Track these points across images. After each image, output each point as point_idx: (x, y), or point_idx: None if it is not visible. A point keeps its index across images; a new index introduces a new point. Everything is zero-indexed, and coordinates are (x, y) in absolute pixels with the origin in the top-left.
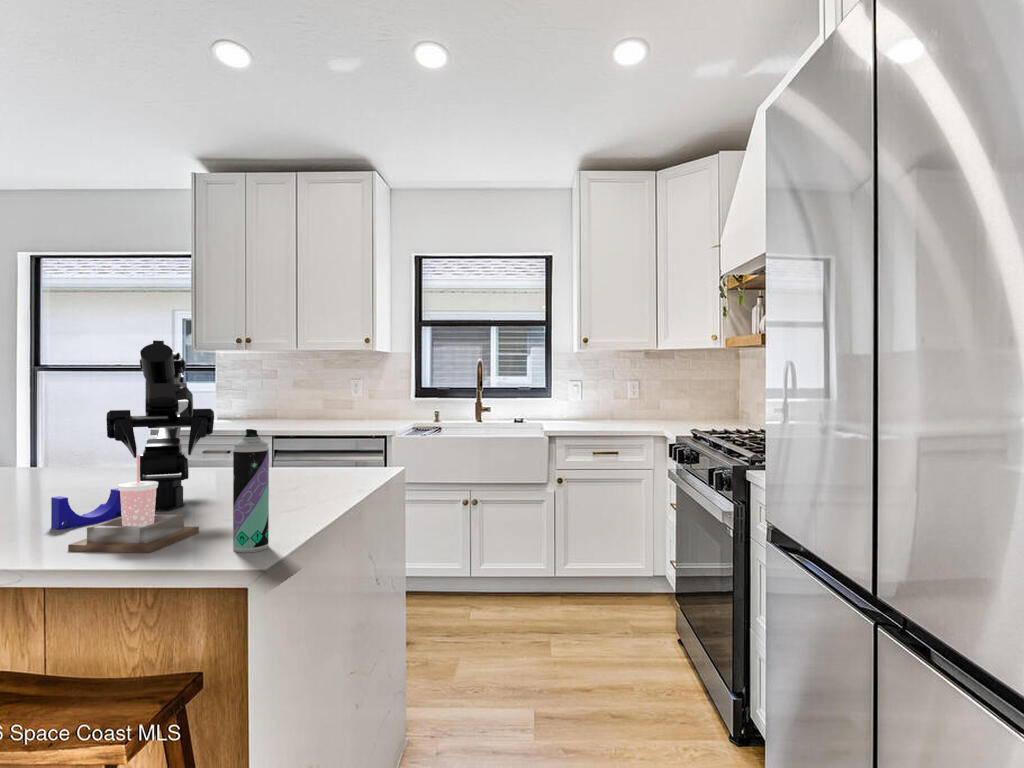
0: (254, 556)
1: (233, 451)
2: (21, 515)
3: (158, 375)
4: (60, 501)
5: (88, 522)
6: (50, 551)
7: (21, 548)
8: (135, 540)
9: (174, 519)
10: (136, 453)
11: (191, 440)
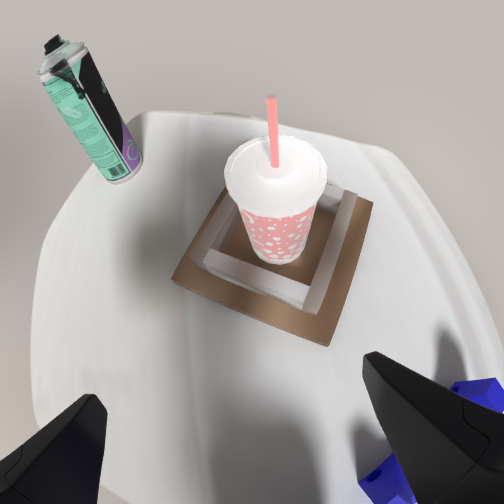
0: None
1: (87, 53)
2: None
3: None
4: (489, 380)
5: None
6: (395, 214)
7: (446, 246)
8: None
9: (207, 228)
10: (366, 358)
11: (47, 433)
